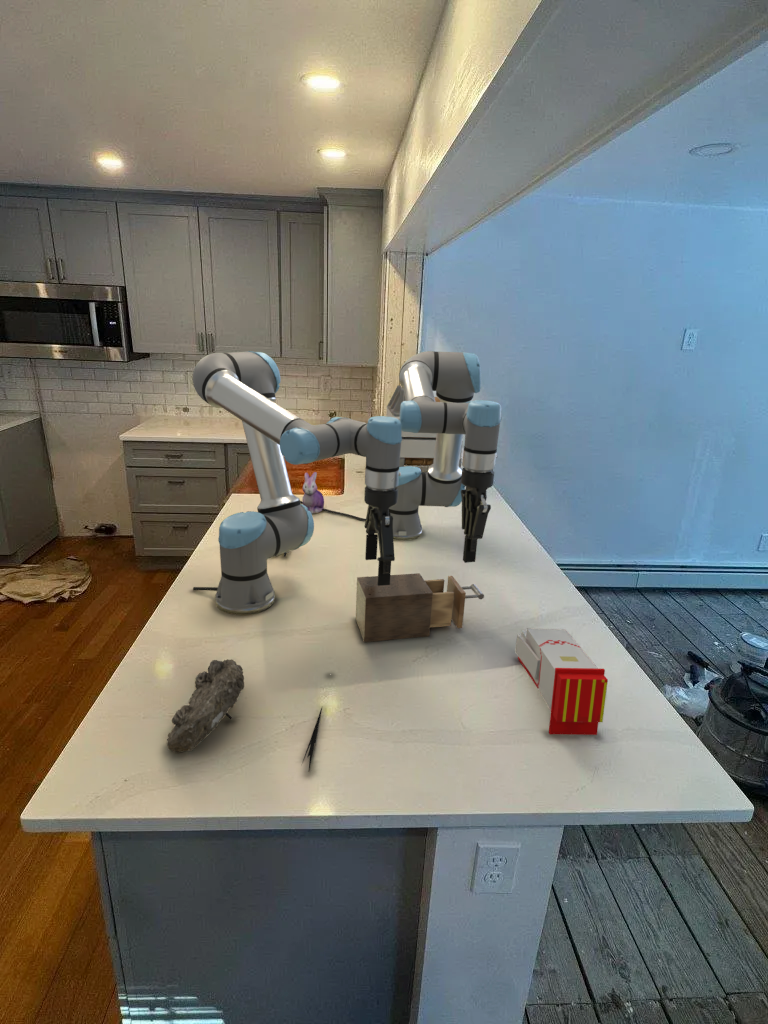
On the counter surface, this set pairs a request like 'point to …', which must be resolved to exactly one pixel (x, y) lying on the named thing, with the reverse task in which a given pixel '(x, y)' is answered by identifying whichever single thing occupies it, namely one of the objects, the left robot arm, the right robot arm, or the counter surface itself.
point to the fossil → (206, 705)
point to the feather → (313, 740)
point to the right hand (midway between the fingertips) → (468, 560)
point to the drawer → (449, 601)
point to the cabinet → (393, 607)
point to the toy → (564, 680)
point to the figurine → (312, 494)
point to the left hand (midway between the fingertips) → (376, 571)
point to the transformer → (413, 437)
